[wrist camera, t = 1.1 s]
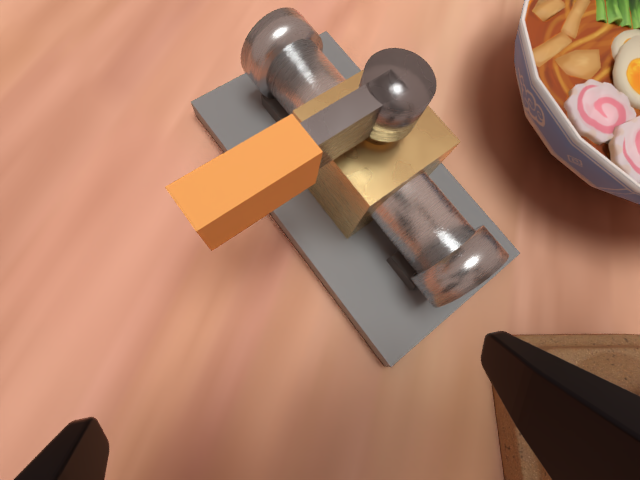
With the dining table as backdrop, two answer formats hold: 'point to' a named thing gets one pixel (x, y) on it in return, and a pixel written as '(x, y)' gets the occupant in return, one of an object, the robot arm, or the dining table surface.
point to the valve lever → (303, 148)
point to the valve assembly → (363, 193)
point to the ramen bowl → (584, 87)
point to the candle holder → (585, 352)
